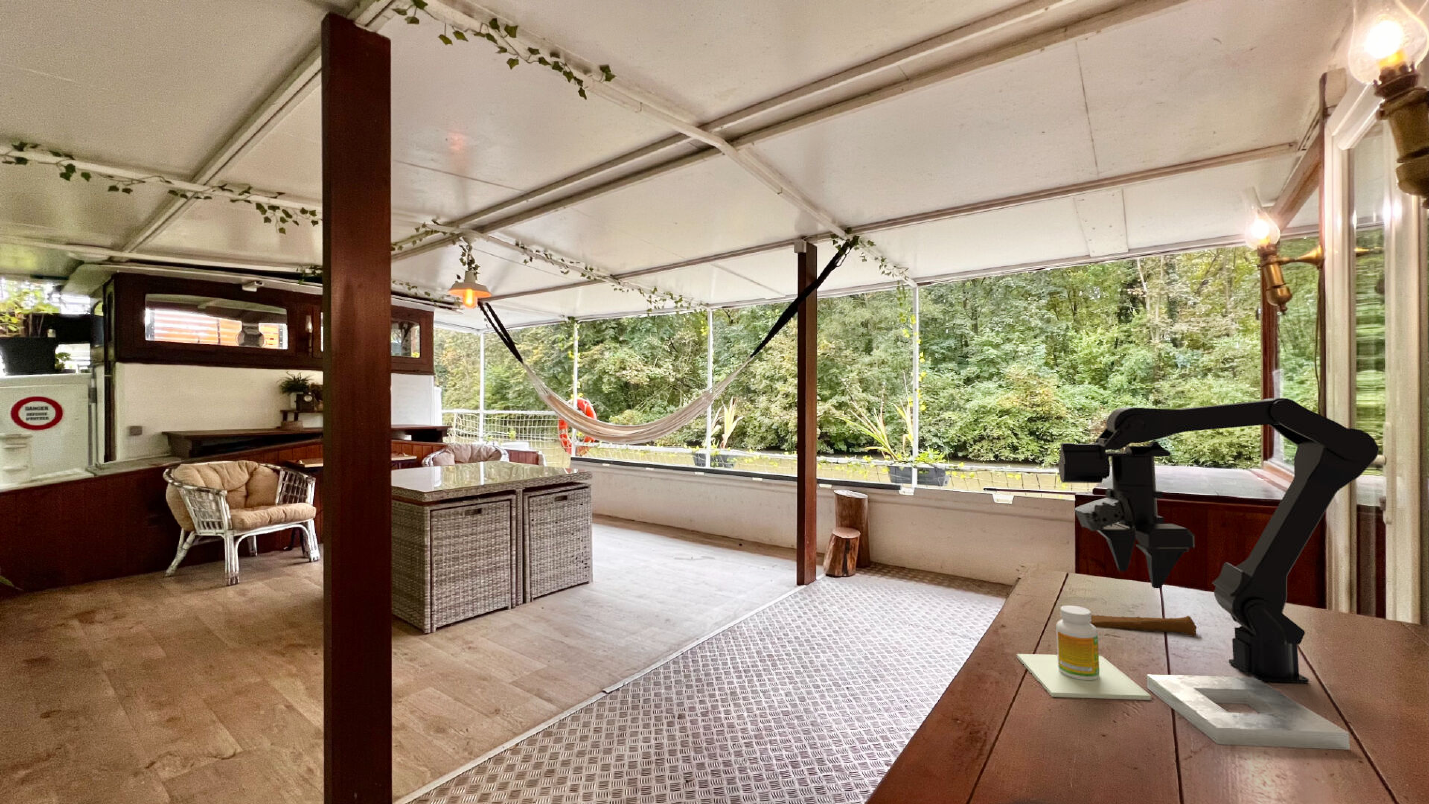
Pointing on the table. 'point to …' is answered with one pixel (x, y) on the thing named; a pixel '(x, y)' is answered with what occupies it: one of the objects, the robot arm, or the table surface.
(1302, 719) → the post foot
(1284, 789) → the table surface
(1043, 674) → the sage pad
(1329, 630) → the table surface
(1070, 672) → the supplement bottle
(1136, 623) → the primitive tool
